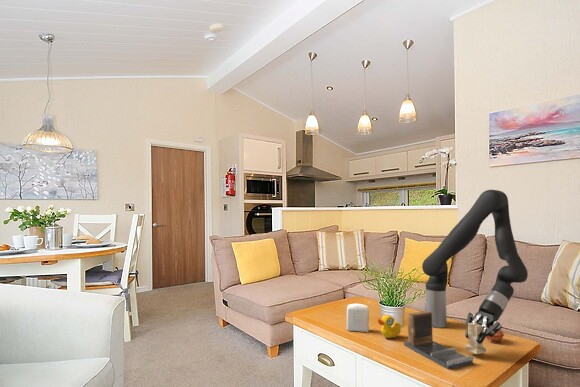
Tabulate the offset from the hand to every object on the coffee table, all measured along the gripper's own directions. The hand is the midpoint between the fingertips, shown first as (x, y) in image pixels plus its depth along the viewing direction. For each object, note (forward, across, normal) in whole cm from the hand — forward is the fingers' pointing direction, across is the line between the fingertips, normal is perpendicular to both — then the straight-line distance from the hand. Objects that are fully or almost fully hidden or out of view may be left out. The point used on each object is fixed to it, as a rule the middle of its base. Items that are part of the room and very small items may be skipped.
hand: (472, 339), depth 133 cm
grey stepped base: (+13, -7, -4) cm, 15 cm away
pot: (-10, -8, +20) cm, 24 cm away
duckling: (+17, -28, -8) cm, 34 cm away
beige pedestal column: (+2, 0, +4) cm, 5 cm away
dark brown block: (+12, -15, -5) cm, 20 cm away
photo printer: (+23, -41, -13) cm, 49 cm away
